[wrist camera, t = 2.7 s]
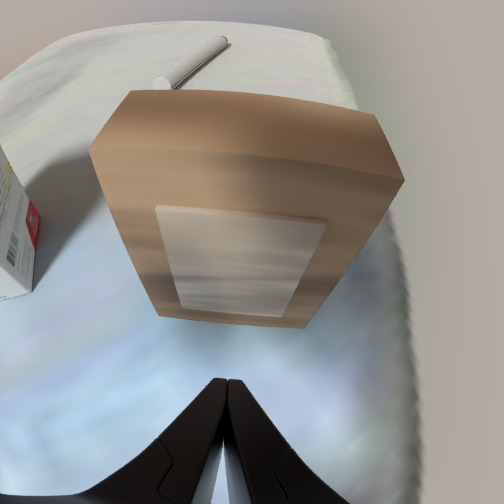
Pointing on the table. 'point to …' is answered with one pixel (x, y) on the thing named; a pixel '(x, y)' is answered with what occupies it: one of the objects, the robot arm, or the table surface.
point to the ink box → (15, 234)
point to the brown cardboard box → (242, 199)
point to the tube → (188, 64)
